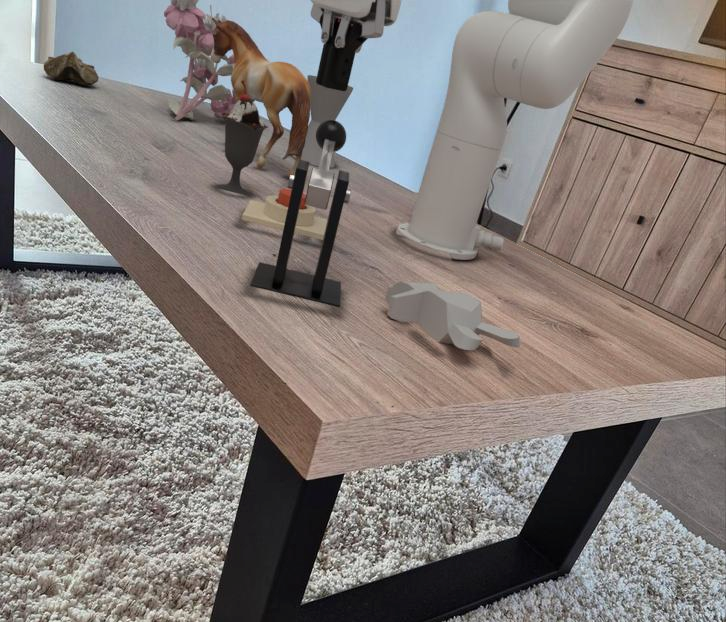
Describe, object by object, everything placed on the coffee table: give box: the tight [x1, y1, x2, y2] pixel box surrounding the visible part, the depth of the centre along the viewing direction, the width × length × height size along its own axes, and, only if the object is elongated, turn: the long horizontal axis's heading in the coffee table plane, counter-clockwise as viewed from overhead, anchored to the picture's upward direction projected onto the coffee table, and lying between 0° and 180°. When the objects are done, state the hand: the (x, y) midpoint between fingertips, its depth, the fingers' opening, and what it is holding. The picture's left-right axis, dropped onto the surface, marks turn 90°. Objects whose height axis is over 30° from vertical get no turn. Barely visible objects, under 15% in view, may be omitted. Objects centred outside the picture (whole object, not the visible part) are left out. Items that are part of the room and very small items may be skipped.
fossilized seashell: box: [43, 50, 100, 87], centre depth 141 cm, size 8×7×10 cm
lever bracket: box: [250, 160, 352, 308], centre depth 68 cm, size 7×9×13 cm
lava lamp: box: [291, 20, 354, 169], centre depth 128 cm, size 9×9×35 cm
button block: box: [241, 194, 328, 241], centre depth 89 cm, size 11×8×4 cm
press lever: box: [304, 120, 347, 211], centre depth 68 cm, size 12×3×3 cm, turn 0°
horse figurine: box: [210, 17, 311, 178], centre depth 116 cm, size 31×8×21 cm, turn 39°
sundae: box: [215, 80, 270, 197], centre depth 96 cm, size 7×7×15 cm
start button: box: [277, 188, 306, 210], centre depth 88 cm, size 4×4×2 cm
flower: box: [163, 0, 236, 122], centre depth 139 cm, size 20×22×25 cm
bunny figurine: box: [384, 281, 521, 351], centre depth 68 cm, size 10×5×15 cm
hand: (331, 87), depth 74 cm, fingers closed
